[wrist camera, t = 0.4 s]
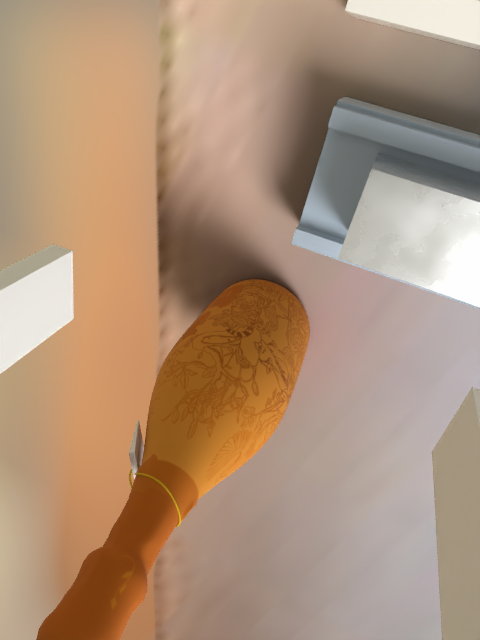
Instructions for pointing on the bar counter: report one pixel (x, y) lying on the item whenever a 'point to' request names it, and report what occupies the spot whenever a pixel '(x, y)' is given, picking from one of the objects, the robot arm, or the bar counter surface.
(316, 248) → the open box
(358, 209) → the grey long rectangular block
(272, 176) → the bar counter surface
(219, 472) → the wine bottle
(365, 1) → the cradle
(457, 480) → the robot arm
